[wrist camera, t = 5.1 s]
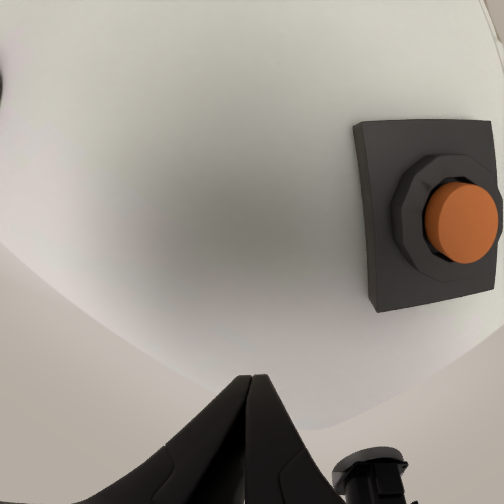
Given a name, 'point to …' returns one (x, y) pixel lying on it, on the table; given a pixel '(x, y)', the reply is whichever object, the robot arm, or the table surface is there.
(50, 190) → the table surface
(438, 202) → the power button
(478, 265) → the orange push button base
